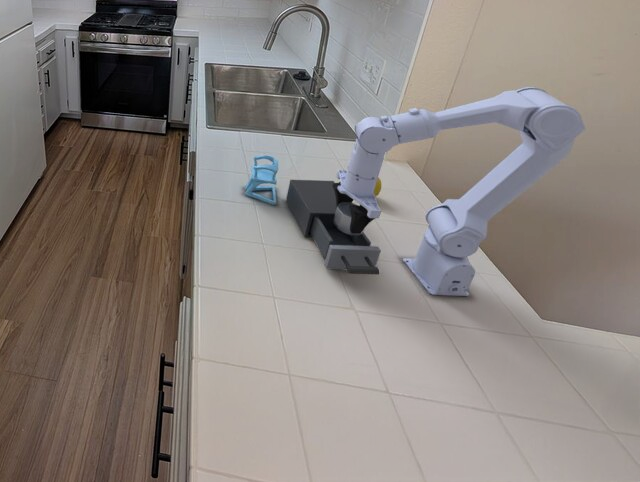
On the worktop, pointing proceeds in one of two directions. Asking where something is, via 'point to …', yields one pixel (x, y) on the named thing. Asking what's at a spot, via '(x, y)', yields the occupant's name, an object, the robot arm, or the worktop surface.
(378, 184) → the lemon
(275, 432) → the worktop surface
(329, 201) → the drawer cabinet
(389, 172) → the worktop surface
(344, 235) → the drawer
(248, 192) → the chair
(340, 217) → the octagonal metal cup
